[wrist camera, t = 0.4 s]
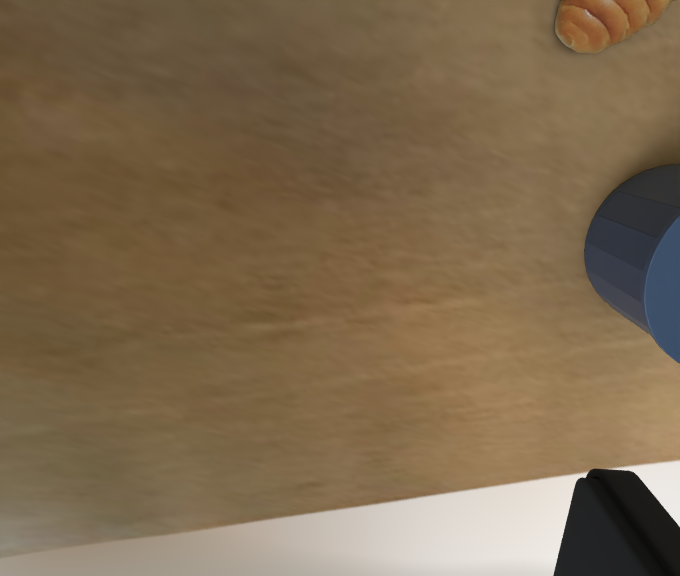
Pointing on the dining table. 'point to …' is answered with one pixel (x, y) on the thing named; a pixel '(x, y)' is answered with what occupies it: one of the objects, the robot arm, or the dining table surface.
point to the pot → (630, 237)
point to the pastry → (604, 21)
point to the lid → (664, 289)
